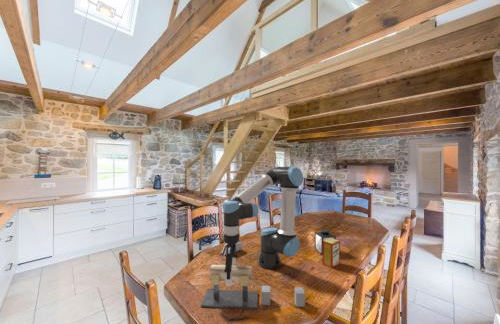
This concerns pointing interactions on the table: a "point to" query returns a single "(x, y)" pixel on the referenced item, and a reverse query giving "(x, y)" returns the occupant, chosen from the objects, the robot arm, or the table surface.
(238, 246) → the grey curved block
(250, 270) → the beige long block
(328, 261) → the baking soda box
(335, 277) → the table surface
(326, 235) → the lantern
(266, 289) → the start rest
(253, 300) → the bracket stand
